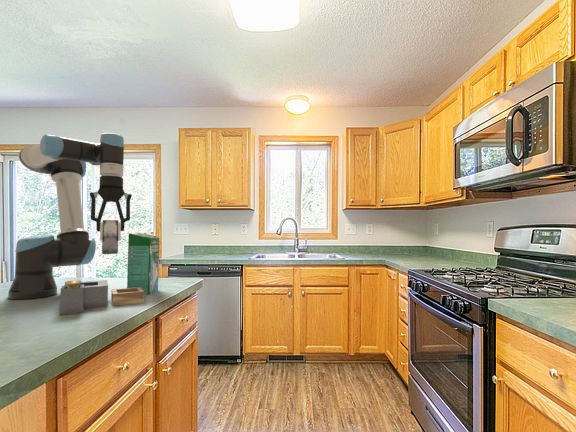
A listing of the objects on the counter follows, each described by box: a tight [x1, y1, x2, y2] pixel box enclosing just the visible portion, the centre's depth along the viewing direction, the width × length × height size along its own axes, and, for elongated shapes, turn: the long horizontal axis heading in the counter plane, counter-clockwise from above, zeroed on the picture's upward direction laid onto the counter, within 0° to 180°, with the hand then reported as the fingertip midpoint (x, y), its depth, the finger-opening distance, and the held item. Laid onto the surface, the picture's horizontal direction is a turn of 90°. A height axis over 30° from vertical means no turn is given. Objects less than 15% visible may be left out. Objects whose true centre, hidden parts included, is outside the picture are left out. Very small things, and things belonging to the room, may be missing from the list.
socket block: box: [59, 279, 109, 316], centre depth 111 cm, size 19×13×8 cm
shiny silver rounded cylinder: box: [101, 219, 119, 255], centre depth 116 cm, size 5×5×12 cm
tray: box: [110, 287, 145, 307], centre depth 118 cm, size 10×10×4 cm
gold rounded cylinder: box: [64, 280, 82, 288], centre depth 103 cm, size 4×4×7 cm
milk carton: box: [126, 232, 160, 296], centre depth 135 cm, size 9×9×25 cm
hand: (110, 240), depth 116 cm, fingers closed on shiny silver rounded cylinder, 5 cm apart
